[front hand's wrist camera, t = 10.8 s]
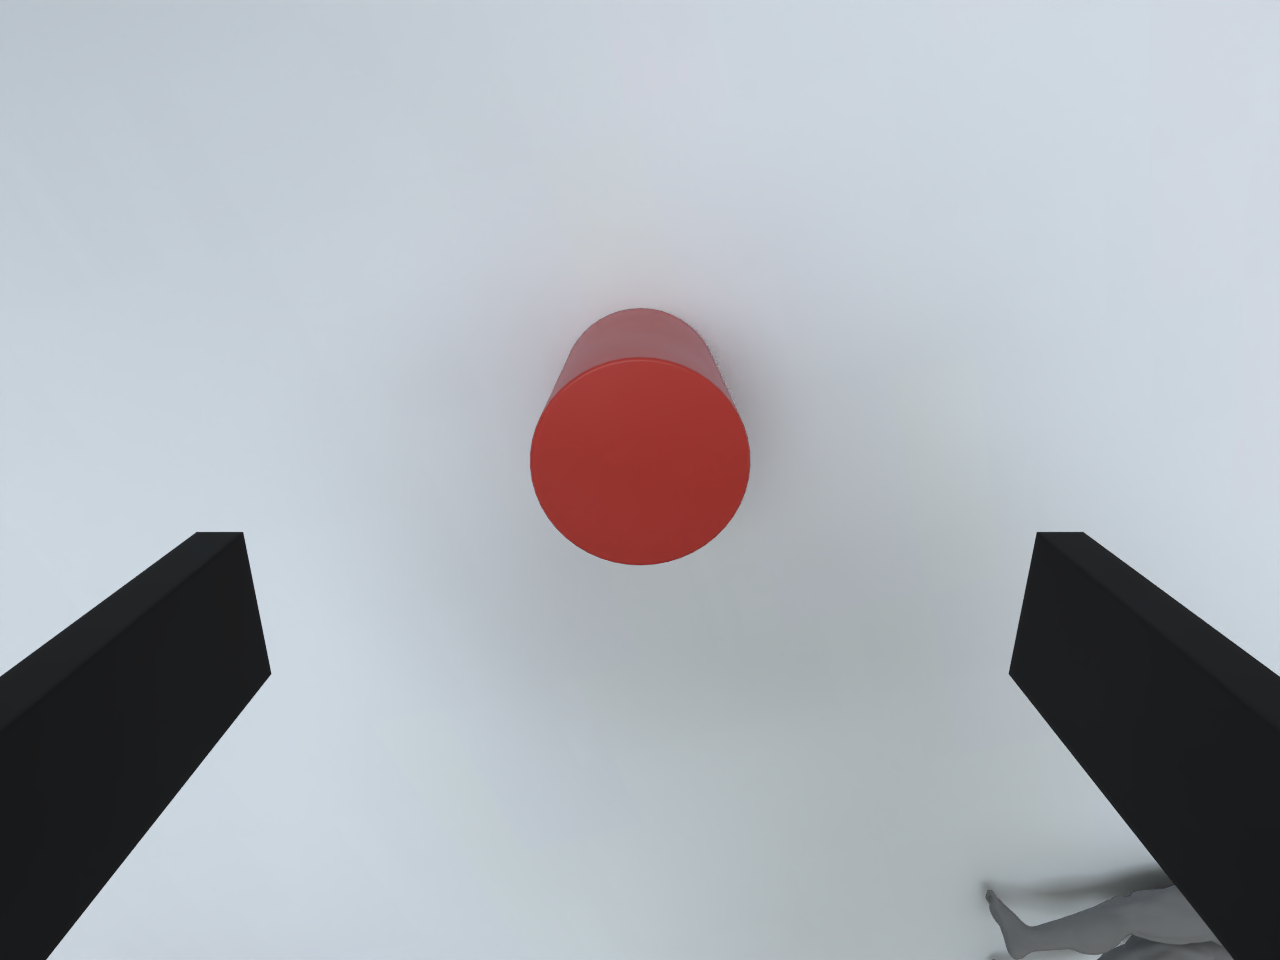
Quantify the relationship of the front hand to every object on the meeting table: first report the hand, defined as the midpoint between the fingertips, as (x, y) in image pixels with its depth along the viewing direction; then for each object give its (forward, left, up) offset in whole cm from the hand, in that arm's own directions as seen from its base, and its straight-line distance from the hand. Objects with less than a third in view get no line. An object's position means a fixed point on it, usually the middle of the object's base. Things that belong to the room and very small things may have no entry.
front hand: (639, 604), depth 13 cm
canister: (0, 0, -16) cm, 16 cm away
